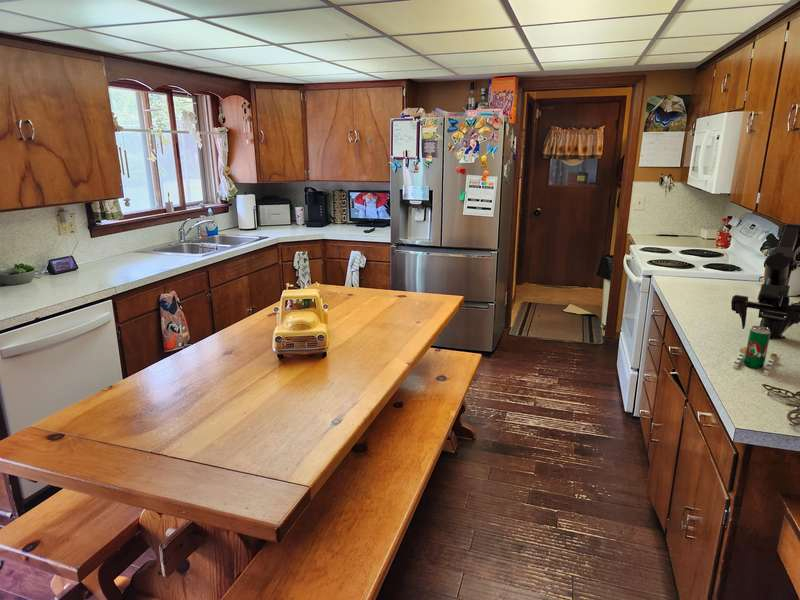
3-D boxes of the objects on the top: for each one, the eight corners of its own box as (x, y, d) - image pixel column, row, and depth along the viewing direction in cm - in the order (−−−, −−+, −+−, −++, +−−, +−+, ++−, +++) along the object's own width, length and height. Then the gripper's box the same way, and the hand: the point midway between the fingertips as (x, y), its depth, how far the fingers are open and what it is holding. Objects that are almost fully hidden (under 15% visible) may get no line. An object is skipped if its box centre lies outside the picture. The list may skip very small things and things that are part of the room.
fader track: (744, 349, 171) (745, 345, 170) (776, 356, 165) (777, 351, 165) (732, 368, 156) (733, 363, 156) (767, 375, 151) (768, 371, 150)
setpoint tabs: (740, 350, 167) (741, 347, 166) (776, 358, 161) (777, 355, 160) (739, 352, 165) (739, 349, 165) (775, 359, 159) (776, 356, 159)
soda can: (757, 363, 160) (765, 325, 157) (767, 369, 155) (775, 331, 152) (740, 362, 160) (747, 324, 157) (748, 369, 155) (756, 330, 152)
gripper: (738, 269, 162) (724, 311, 157) (814, 278, 151) (802, 324, 145) (738, 289, 170) (725, 330, 165) (810, 299, 158) (799, 343, 153)
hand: (761, 331), depth 157 cm, fingers open, 9 cm apart
